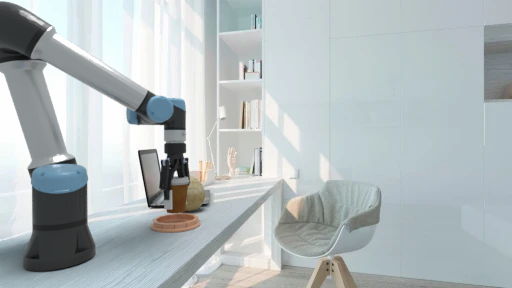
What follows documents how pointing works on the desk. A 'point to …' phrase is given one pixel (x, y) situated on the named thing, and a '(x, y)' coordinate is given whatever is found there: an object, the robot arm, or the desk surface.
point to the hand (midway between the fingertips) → (175, 206)
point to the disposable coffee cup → (179, 194)
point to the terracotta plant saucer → (175, 223)
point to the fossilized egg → (194, 195)
